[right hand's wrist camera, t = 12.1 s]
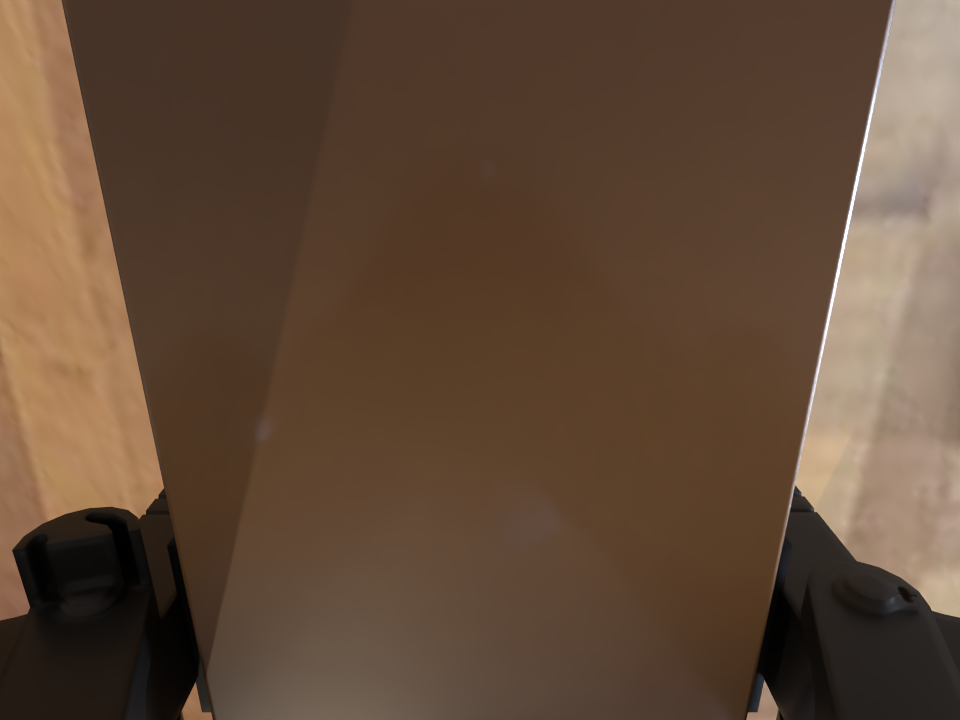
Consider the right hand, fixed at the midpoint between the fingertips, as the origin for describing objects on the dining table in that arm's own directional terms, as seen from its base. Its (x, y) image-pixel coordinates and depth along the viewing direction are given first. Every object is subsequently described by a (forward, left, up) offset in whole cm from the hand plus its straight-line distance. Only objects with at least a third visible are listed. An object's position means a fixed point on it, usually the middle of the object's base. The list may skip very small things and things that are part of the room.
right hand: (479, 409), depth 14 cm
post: (+7, -23, 0) cm, 24 cm away
